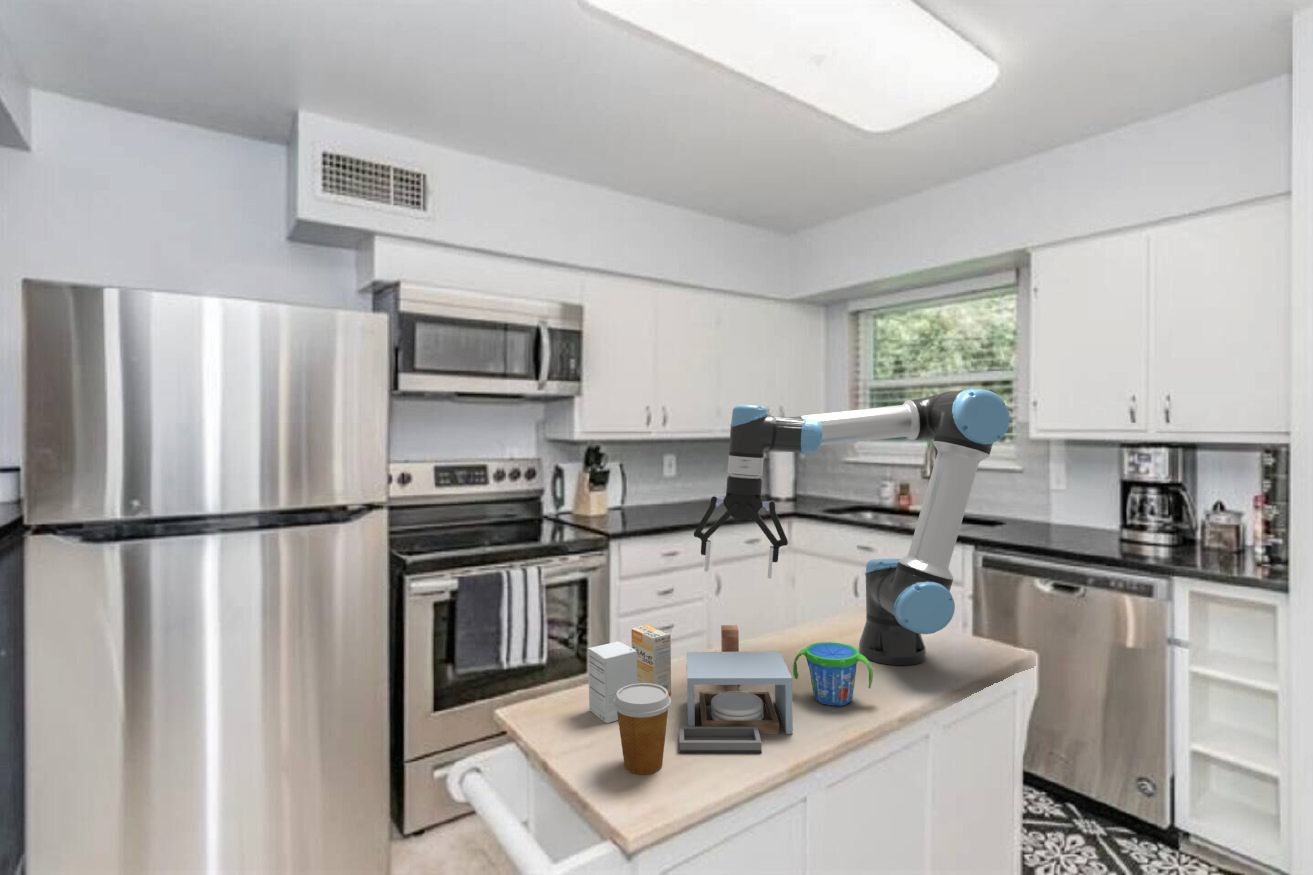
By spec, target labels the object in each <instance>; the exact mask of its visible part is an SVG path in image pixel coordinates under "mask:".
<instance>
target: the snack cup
mask: <svg viewBox="0 0 1313 875" xmlns="http://www.w3.org/2000/svg"><path fill="white" fill-rule="evenodd" d="M802 655H803V656H805V659H806V662H807V666H808V667H809V668H808V669H809V676H810V680H811V687H812V693H813V696H814V699H816V701H817V702H819V703H820V704H822V705H827V706H839V707H842V706H845V705H847V704H849V703H850V702H853V697H854V688H855V682H856V674H857V664H858V662H861V663H863V664H865V665H866V667H867V670H868V689H869V690H870V689H871V688H872V685H873V679H874V672H873V668H872V667H873V666H872V665H871V663H870V660H869V659H867V658H866V657H865V656H863V655H862V654H860V653H859V649H857V647H854V646H852V645H850V644H846V643H842V642H835V641H834V642H833V641H823V642H816V643H811V644H809V645H808V646H807V647H805V648H803V649H801V650H800V651H799V652H798V653H797V654H796V656H795V658H794V660H793V666H792V668H793V669H792V673H793V678H794V679H795V680H798V678H799V671H798V664H797V662H798V660H799V658H800V657H801V656H802Z"/></svg>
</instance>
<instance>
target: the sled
mask: <svg viewBox="0 0 1313 875" xmlns="http://www.w3.org/2000/svg"><path fill="white" fill-rule="evenodd" d="M720 627H721V628H720V630H721V631H720V635H721V636H720V640H721V641H720V644H721V646H720V647H721V648H720V649H721V651H720V652H740V649H739V648H740V644H739V642H740V641H739V638H740V637H739V627H738V625H737V624H736V625H735V624H722V625H721V626H720ZM738 686H740V685H722V687H726V692H727V691H739V690H738ZM722 692H723V691H699V695H698V696H699V699H698V700H699V713H700V714H699V715H700V727H758V731H759V735H779V734H780V721H779V719H778V718H779V717H778V716H777V713H776V710H775V705H774V704H773V701H772V697H771V695H770V692H769V691H748V692H749V693H752V694H754V695H756V696H758V697H759V698H760V699H761V700H762V701H763V705H764V706H765V709H766V714H767V715H768V716H767V717H768V720H762V721H713V720H708V719H707V718H708V717H707V707H706V705H711V700H712V698H713V697H714V696H716V695H717V694H719V693H722Z"/></svg>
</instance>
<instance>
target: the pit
mask: <svg viewBox="0 0 1313 875" xmlns="http://www.w3.org/2000/svg"><path fill="white" fill-rule="evenodd" d="M678 736H679V753H680V754H762V752H763V751H762V749H763V748H762V740H761V734H759V731H758V727H701V726H695V727H688V726H679V735H678Z"/></svg>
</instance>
